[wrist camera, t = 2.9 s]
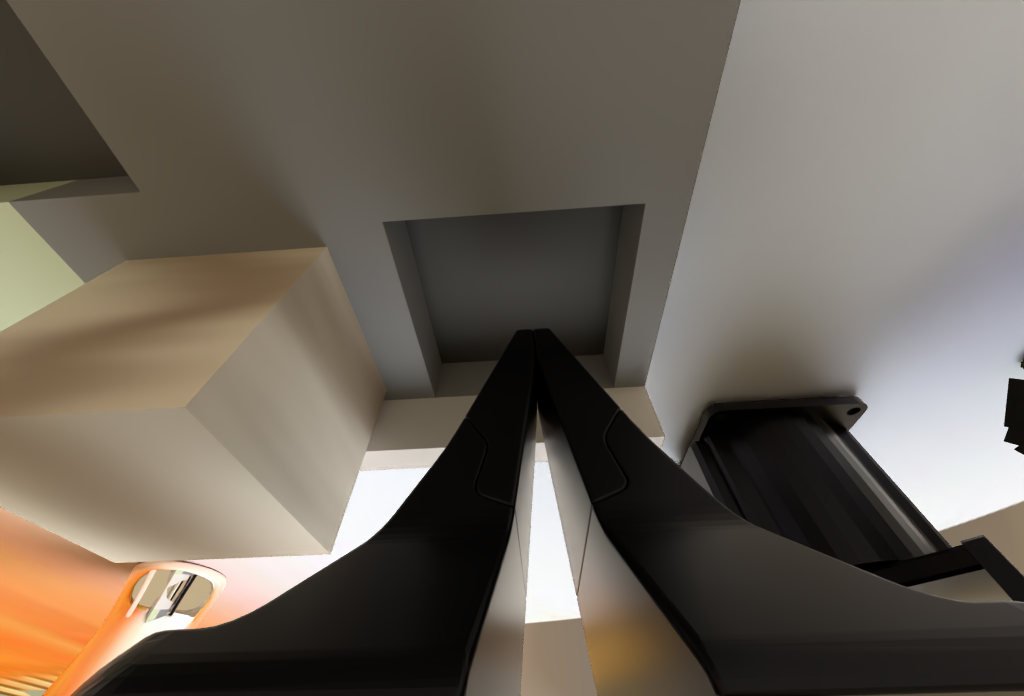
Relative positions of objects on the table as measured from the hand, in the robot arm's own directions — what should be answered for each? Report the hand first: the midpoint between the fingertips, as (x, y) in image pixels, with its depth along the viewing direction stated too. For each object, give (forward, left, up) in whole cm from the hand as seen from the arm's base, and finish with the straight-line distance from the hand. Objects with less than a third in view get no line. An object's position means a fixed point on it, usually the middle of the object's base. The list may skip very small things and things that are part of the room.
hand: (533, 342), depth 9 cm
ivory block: (+7, 0, -1) cm, 7 cm away
